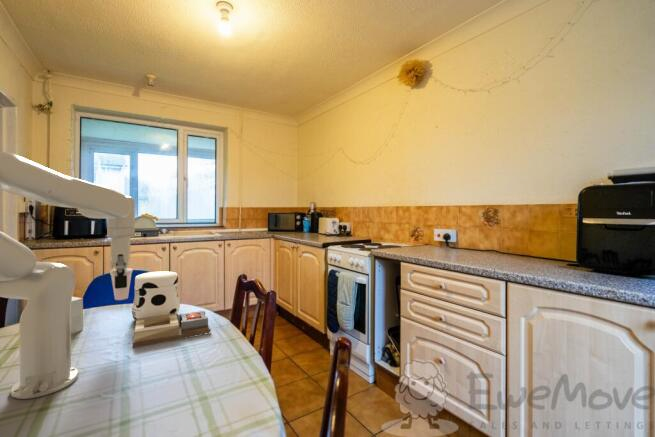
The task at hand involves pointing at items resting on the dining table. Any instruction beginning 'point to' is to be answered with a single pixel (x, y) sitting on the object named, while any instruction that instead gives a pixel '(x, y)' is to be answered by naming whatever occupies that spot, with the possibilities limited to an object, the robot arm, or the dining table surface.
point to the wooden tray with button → (168, 328)
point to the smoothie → (121, 292)
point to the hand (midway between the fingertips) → (121, 284)
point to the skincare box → (76, 314)
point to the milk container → (155, 294)
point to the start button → (193, 316)
